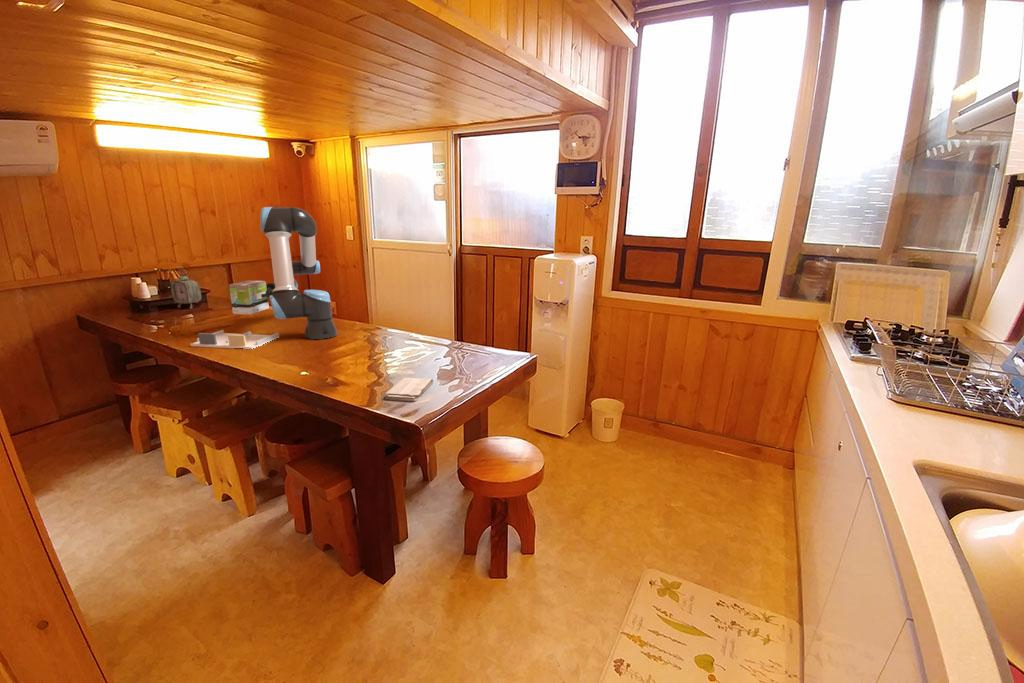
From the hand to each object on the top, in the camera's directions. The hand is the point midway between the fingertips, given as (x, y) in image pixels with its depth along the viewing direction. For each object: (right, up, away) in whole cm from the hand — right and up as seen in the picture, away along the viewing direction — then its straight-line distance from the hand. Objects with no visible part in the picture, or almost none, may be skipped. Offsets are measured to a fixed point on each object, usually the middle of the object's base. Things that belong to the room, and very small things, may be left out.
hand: (246, 296), depth 221 cm
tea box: (0, -7, +4) cm, 8 cm away
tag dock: (-1, -23, -6) cm, 23 cm away
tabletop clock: (-75, -1, +65) cm, 99 cm away
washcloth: (+96, -41, -61) cm, 121 cm away
